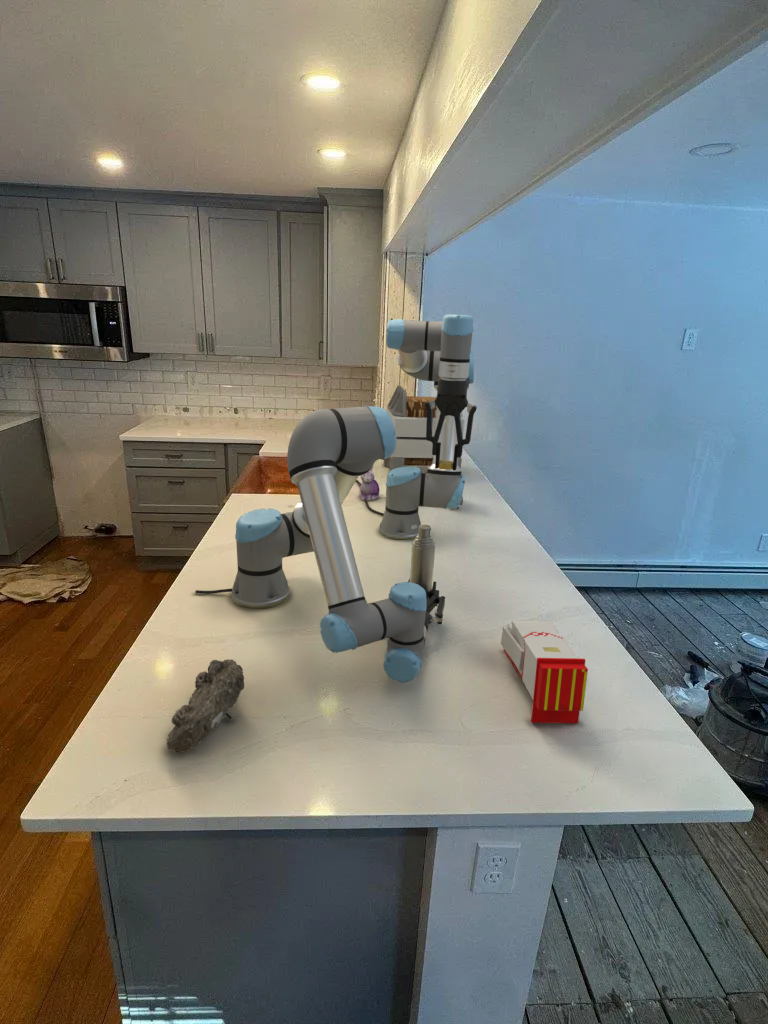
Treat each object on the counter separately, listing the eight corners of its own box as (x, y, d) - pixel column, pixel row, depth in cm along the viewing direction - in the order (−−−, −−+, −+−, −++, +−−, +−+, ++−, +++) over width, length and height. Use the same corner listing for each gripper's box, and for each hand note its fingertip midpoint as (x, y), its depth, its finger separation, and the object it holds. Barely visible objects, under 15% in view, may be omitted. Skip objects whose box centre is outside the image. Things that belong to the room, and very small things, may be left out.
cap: (455, 470, 150) (455, 464, 149) (439, 469, 149) (439, 463, 149) (452, 465, 153) (452, 460, 153) (436, 465, 153) (437, 459, 153)
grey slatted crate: (382, 463, 289) (386, 382, 275) (445, 464, 293) (451, 384, 279) (390, 482, 257) (394, 392, 243) (460, 483, 261) (468, 394, 247)
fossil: (192, 660, 117) (244, 628, 112) (224, 691, 120) (276, 661, 115) (142, 746, 98) (202, 712, 93) (182, 779, 101) (242, 748, 96)
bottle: (406, 620, 145) (411, 529, 136) (408, 609, 150) (414, 521, 142) (428, 622, 144) (435, 531, 136) (430, 611, 149) (437, 523, 141)
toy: (547, 606, 135) (596, 665, 106) (541, 658, 138) (589, 729, 108) (496, 604, 134) (532, 664, 105) (492, 657, 137) (526, 729, 108)
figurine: (364, 502, 230) (365, 466, 225) (353, 495, 238) (354, 460, 233) (384, 500, 234) (386, 464, 229) (373, 492, 242) (375, 458, 237)
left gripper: (369, 639, 131) (386, 593, 153) (450, 650, 128) (456, 601, 150) (370, 610, 128) (388, 567, 150) (453, 621, 126) (459, 576, 147)
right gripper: (417, 378, 142) (411, 468, 150) (486, 382, 138) (476, 475, 146) (422, 375, 149) (416, 461, 157) (488, 379, 145) (479, 467, 153)
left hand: (422, 584), depth 150 cm, fingers closed on bottle, 6 cm apart
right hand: (445, 468), depth 151 cm, fingers closed on cap, 4 cm apart
